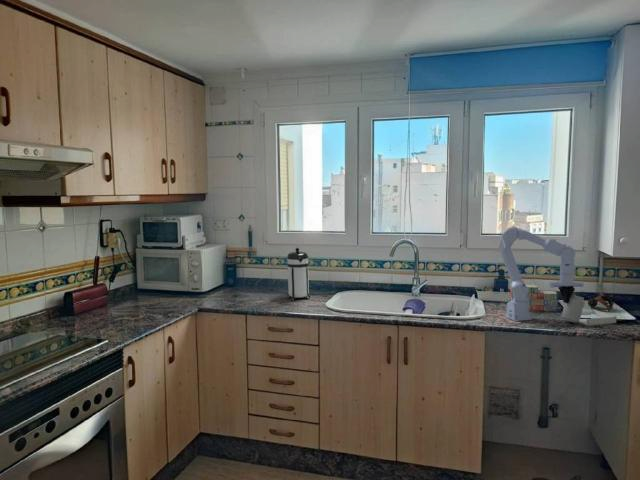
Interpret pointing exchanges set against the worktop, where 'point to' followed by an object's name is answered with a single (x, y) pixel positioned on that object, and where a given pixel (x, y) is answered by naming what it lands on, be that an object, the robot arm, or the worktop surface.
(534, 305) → the stack of blocks
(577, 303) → the can
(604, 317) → the tray
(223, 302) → the worktop surface
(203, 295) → the worktop surface
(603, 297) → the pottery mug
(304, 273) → the coffee press
